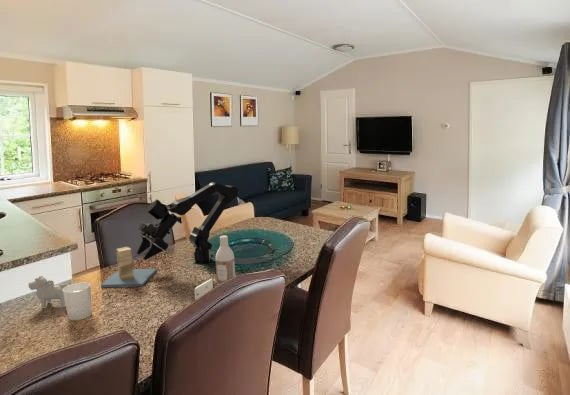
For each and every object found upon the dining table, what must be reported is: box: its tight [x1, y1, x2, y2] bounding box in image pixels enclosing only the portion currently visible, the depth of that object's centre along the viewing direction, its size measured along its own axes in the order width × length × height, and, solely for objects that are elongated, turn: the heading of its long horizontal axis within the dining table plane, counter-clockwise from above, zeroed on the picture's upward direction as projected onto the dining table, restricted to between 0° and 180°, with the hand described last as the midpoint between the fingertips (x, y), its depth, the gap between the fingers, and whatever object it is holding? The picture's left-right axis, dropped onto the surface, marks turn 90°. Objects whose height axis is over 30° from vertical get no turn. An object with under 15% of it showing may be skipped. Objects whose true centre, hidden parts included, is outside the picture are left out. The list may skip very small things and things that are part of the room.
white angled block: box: [194, 278, 214, 301], centre depth 127 cm, size 4×10×9 cm, turn 84°
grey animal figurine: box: [27, 275, 68, 309], centre depth 130 cm, size 5×13×11 cm, turn 93°
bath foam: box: [215, 234, 236, 285], centre depth 141 cm, size 7×7×20 cm
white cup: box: [63, 281, 93, 321], centre depth 122 cm, size 8×8×10 cm
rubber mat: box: [100, 268, 157, 288], centre depth 154 cm, size 16×16×1 cm
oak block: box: [115, 246, 134, 280], centre depth 151 cm, size 4×4×12 cm
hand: (140, 256), depth 155 cm, fingers open, 9 cm apart
